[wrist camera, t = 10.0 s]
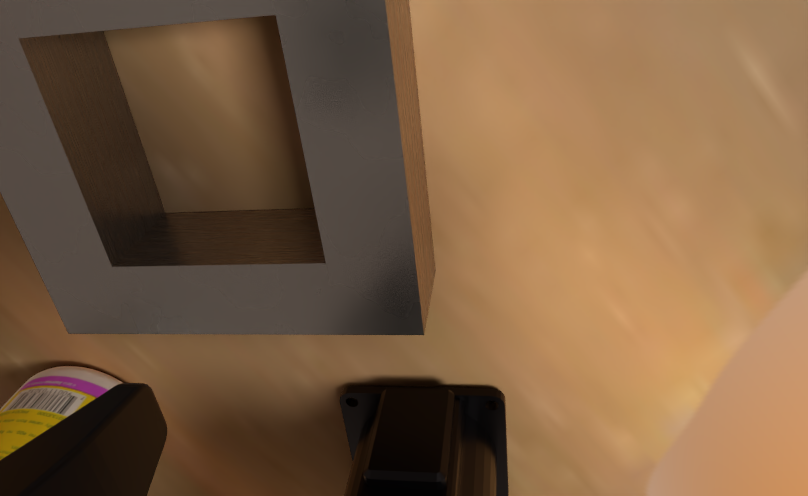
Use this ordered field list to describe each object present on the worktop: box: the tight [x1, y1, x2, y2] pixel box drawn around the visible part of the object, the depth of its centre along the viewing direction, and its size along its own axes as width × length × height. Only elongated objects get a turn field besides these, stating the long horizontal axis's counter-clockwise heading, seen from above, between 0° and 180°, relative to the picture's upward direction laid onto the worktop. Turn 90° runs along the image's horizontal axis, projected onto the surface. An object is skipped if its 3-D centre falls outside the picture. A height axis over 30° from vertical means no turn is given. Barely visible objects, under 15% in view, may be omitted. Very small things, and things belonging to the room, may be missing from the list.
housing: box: [0, 0, 435, 335], centre depth 18 cm, size 12×12×4 cm
